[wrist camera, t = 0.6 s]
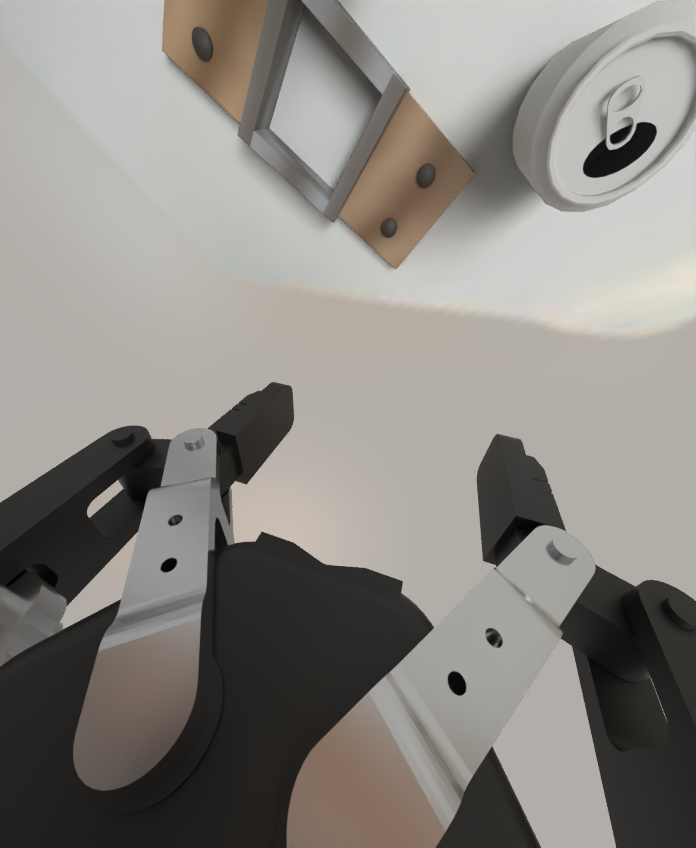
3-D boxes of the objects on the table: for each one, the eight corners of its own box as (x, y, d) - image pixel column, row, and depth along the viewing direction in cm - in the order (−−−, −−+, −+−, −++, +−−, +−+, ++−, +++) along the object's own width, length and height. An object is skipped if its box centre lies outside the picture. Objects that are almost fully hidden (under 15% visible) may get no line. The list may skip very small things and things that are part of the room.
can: (516, 199, 25) (538, 243, 18) (504, 86, 21) (528, 81, 13) (628, 145, 21) (717, 172, 14) (643, -7, 17) (785, -87, 10)
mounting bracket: (171, 55, 24) (146, 51, 22) (187, -184, 17) (152, -219, 15) (396, 266, 32) (392, 277, 30) (476, 169, 25) (477, 175, 23)
